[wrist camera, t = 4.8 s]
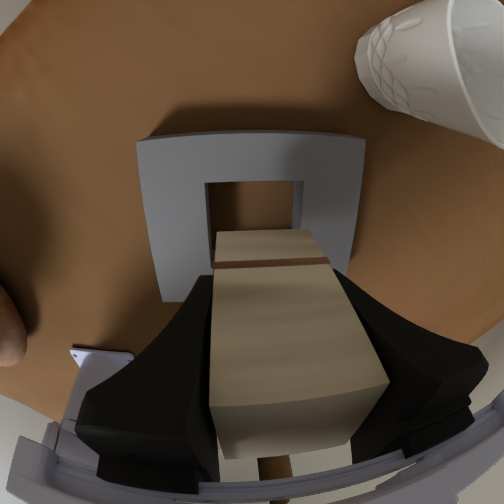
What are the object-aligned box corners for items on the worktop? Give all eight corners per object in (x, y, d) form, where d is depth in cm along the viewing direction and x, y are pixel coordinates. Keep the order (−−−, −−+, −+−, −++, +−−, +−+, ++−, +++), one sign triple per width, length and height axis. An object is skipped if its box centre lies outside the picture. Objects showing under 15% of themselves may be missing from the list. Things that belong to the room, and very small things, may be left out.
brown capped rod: (300, 403, 32) (325, 526, 17) (278, 423, 35) (295, 532, 19) (253, 399, 30) (268, 536, 15) (235, 419, 33) (244, 537, 18)
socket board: (332, 274, 22) (342, 292, 20) (168, 281, 21) (162, 302, 19) (349, 134, 16) (365, 139, 14) (148, 136, 16) (136, 141, 13)
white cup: (398, 141, 17) (504, 185, 8) (322, 61, 14) (416, 30, 5) (449, 79, 14) (549, 94, 5) (384, 2, 11) (479, -33, 3)
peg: (301, 300, 14) (346, 444, 7) (221, 304, 14) (223, 459, 7) (309, 227, 12) (392, 380, 5) (215, 230, 12) (206, 405, 5)
